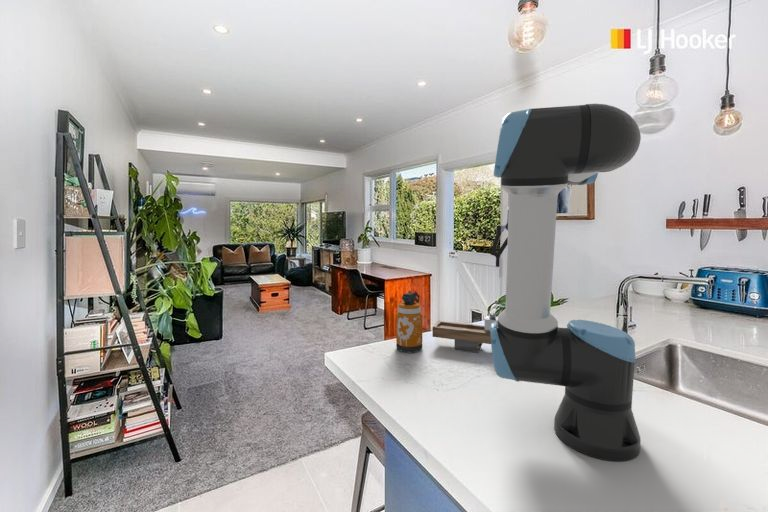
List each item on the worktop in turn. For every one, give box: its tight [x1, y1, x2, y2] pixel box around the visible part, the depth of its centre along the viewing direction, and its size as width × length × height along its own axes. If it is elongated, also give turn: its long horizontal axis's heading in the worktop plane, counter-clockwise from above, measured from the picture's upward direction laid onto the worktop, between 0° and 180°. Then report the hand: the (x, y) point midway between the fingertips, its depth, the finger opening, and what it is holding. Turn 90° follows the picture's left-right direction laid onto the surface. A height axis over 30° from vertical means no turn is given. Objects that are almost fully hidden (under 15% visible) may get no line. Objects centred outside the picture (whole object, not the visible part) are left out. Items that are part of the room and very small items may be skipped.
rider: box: [484, 312, 498, 333], centre depth 120 cm, size 4×4×6 cm
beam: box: [431, 320, 491, 354], centre depth 124 cm, size 8×23×8 cm, turn 66°
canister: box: [395, 290, 423, 353], centre depth 125 cm, size 9×11×20 cm
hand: (518, 277), depth 116 cm, fingers open, 10 cm apart
